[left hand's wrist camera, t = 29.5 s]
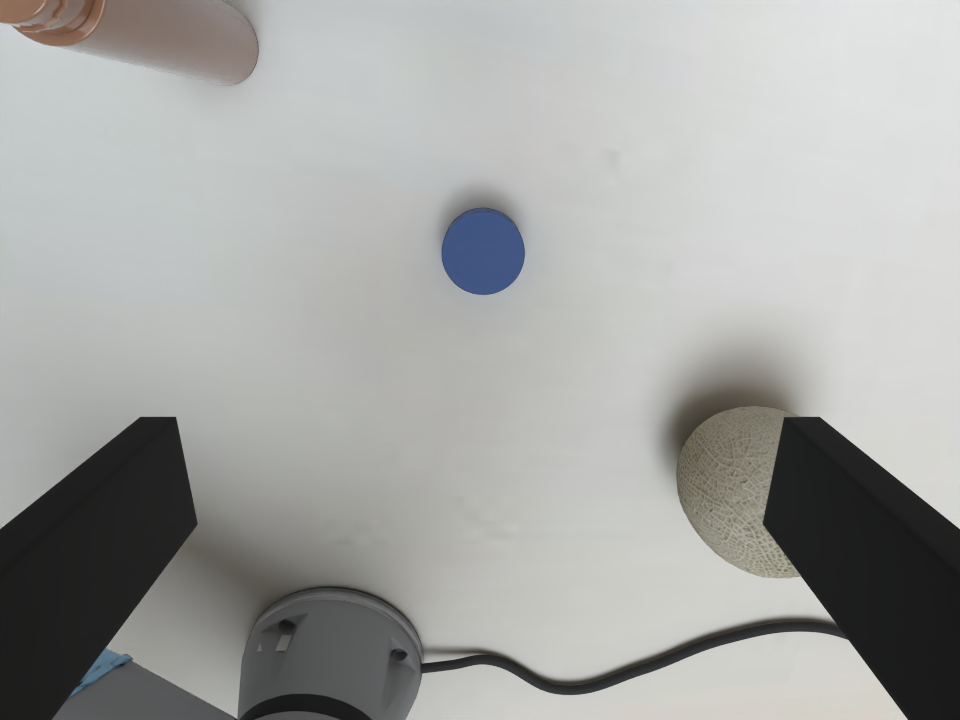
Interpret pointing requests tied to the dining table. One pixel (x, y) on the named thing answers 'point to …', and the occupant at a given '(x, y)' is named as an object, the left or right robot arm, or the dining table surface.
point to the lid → (483, 251)
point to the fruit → (734, 487)
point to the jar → (145, 33)
